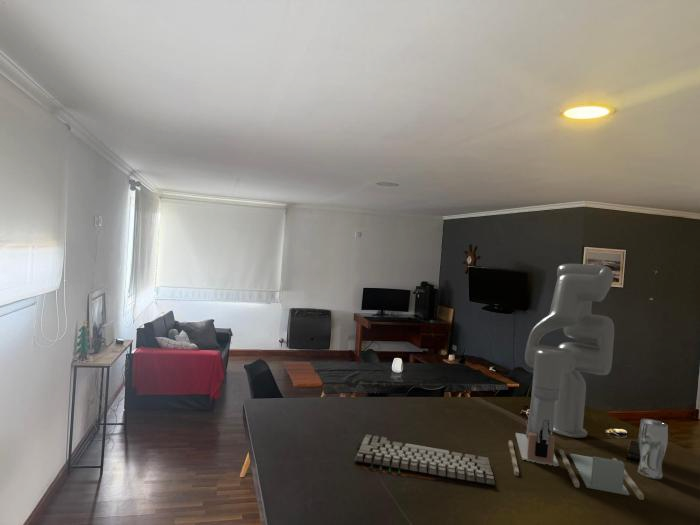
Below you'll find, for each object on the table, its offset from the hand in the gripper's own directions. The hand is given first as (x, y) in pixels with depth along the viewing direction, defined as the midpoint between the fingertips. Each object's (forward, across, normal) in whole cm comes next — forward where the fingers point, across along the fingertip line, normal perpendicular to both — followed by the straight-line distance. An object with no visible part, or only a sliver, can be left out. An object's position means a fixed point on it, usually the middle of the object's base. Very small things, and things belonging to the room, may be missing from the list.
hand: (540, 454), depth 137 cm
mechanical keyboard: (+3, +17, -32) cm, 37 cm away
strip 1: (+2, -10, 0) cm, 10 cm away
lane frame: (+2, +2, +8) cm, 8 cm away
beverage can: (+2, -15, 0) cm, 15 cm away
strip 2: (+2, +2, +15) cm, 15 cm away
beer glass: (+2, -6, +30) cm, 31 cm away
